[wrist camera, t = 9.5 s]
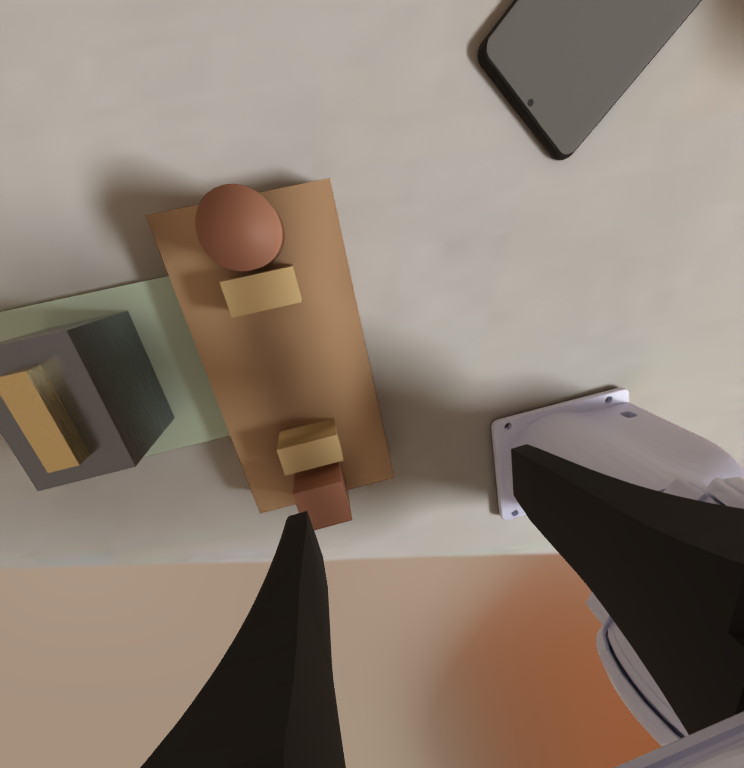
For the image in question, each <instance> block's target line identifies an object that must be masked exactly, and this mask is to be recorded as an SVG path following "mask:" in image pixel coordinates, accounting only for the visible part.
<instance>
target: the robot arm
mask: <svg viewBox="0 0 744 768" xmlns="http://www.w3.org/2000/svg"><path fill="white" fill-rule="evenodd" d="M607 397H608V399H607V400H606V398H607ZM605 400H606V401H605ZM507 423H509V425H508V426H507V427H505V425H506V424H507ZM491 432H492V442H493V453H494V463H495V473H496V484H497V494H498V505H499V514H500V516H501V518H502V519H503V520H510V519H514V518H517V517H521V516H524V515H527V516H528V518H529V519H530V520H531V522H532V523H533V524H534V525H535V526H536V527H537V529H538V530H539V531H540V532H541V533H542V534H543V535H544V537H545V538H546V539H547V540H548V541H549V542H550V543H551V544H552V546H553V547H554V548H555V549H556V550H557V551H558V552H559V553H560V555H561V556H562V557H563V558H564V559H565V560H566V561H567V562H568V564H569V565H570V566H571V567H572V568H573V569H574V570H575V571H576V572H577V574H578V575H579V576H580V577H581V578H582V580H583V581H584V582H585V583H586V584H587V586H588V587H589V588H590V590H591V591H592V593H591V595H590V597H589V599H588V600H587V603H586V604H587V605H588V607H589V608H590V609H591V611H592V612H593V613H594V614H595V616H596V617H597V618H598V619H599V621H600V622H601V623H602V625H603V626H602V627H601V629H600V630H599V632H598V634H597V640H596V642H597V649H598V652H599V655H600V658H601V661H602V663H603V665H604V667H605V670H606V672H607V674H608V677H609V679H610V681H611V683H612V685H613V686H614V688H615V690H616V691H617V693H618V694H619V696H620V698H621V699H622V701H623V702H624V703H625V705H626V706H627V707H628V709H629V710H630V711H631V712H632V714H633V715H634V716H635V718H636V719H637V720H638V721H639V722H640V724H641V725H642V726H643V727H644V728H645V729H646V730H647V731H648V733H649V734H650V735H651V736H652V737H653V738H654V739H655V740H656V741H657V742H658V743H659V744H660V745H661V746H662V747H661V748H658V749H656V750H654V751H652V752H649V753H647V754H645V755H642V756H640V757H638V758H636V759H633V760H631V761H629V762H626V763H624V764H622V765H619V766H617V767H615V768H744V469H743V468H742V467H741V466H740V465H739V464H738V463H737V461H736V460H735V459H734V458H733V457H732V456H731V455H729V454H728V453H727V452H726V451H725V450H723V449H722V448H721V447H719V446H718V445H716V444H715V443H713V442H711V441H709V440H707V439H705V438H703V437H701V436H699V435H697V434H694V433H692V432H690V431H688V430H686V429H684V428H682V427H680V426H678V425H675V424H673V423H671V422H669V421H667V420H665V419H663V418H661V417H658V416H656V415H654V414H652V413H650V412H648V411H646V410H644V409H641V408H639V407H637V406H635V405H633V404H631V403H629V391H628V390H627V389H624V388H622V387H620V388H616V389H612V390H608V391H604V392H600V393H596V394H593V395H589V396H585V397H581V398H577V399H573V400H570V401H566V402H562V403H558V404H554V405H551V406H547V407H543V408H539V409H535V410H531V411H528V412H524V413H520V414H516V415H512V416H508V417H505V418H501V419H497V420H495V421H494V422H493V423H492V425H491ZM514 510H515V511H514ZM513 511H514V512H513ZM140 768H346V766H345V760H344V753H343V746H342V739H341V732H340V725H339V718H338V711H337V704H336V697H335V689H334V682H333V672H332V660H331V641H330V621H329V602H328V586H327V580H326V573H325V568H324V561H323V556H322V553H321V550H320V547H319V544H318V541H317V538H316V535H315V532H314V529H313V526H312V523H311V520H310V517H309V514H308V511H305V512H301V513H298V514H295V515H291V516H289V517H288V518H287V520H286V523H285V526H284V530H283V533H282V536H281V539H280V542H279V545H278V548H277V550H276V553H275V556H274V558H273V561H272V563H271V566H270V568H269V571H268V573H267V576H266V578H265V580H264V583H263V584H262V587H261V589H260V591H259V593H258V595H257V597H256V600H255V602H254V604H253V606H252V608H251V610H250V612H249V614H248V616H247V617H246V619H245V621H244V623H243V625H242V627H241V628H240V630H239V632H238V634H237V635H236V637H235V639H234V641H233V642H232V644H231V645H230V647H229V649H228V650H227V652H226V654H225V655H224V657H223V659H222V660H221V662H220V663H219V665H218V666H217V668H216V670H215V671H214V672H213V674H212V675H211V677H210V678H209V680H208V681H207V682H206V684H205V685H204V687H203V688H202V690H201V691H200V692H199V694H198V695H197V697H196V698H195V700H194V701H193V702H192V704H191V705H190V706H189V708H188V709H187V711H186V712H185V713H184V715H183V716H182V717H181V719H180V720H179V721H178V722H177V724H176V725H175V726H174V728H173V729H172V730H171V731H170V732H169V734H168V735H167V736H166V737H165V738H164V740H163V741H162V742H161V743H160V745H159V746H158V747H157V748H156V749H155V751H154V752H153V753H152V755H151V756H150V757H149V758H148V759H147V761H146V762H145V763H144V764H143V765H142V766H141V767H140Z"/></svg>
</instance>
